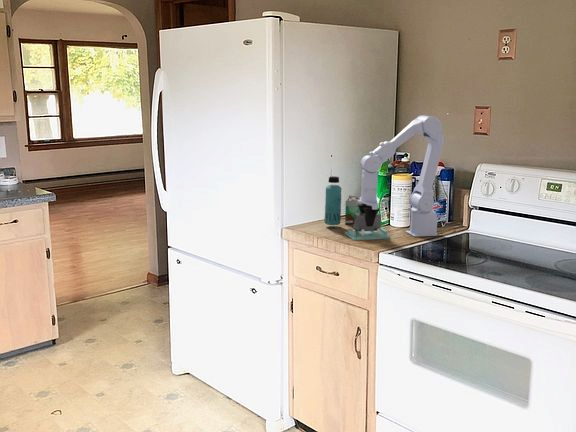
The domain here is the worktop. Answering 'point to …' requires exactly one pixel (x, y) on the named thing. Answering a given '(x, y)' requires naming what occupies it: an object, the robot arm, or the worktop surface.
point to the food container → (351, 209)
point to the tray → (367, 234)
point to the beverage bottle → (333, 202)
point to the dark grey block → (361, 222)
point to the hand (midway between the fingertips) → (367, 224)
